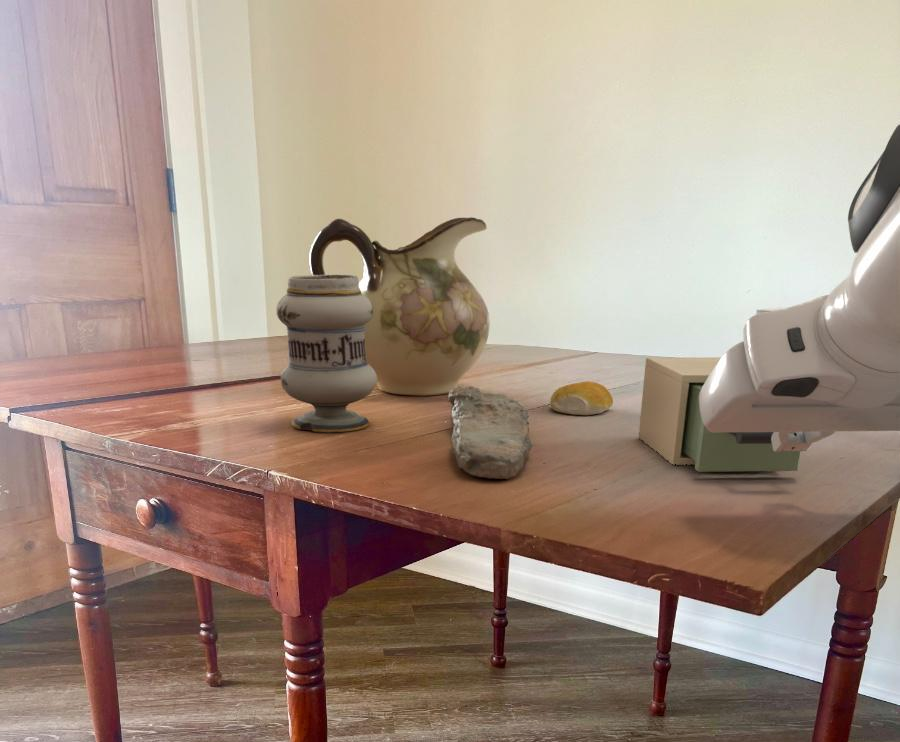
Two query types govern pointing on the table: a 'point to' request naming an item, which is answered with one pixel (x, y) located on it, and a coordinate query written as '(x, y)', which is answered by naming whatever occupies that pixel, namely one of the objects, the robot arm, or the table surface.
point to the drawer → (730, 445)
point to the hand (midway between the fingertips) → (787, 445)
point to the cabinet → (670, 402)
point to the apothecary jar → (327, 350)
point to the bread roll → (581, 399)
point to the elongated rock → (488, 433)
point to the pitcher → (416, 307)
